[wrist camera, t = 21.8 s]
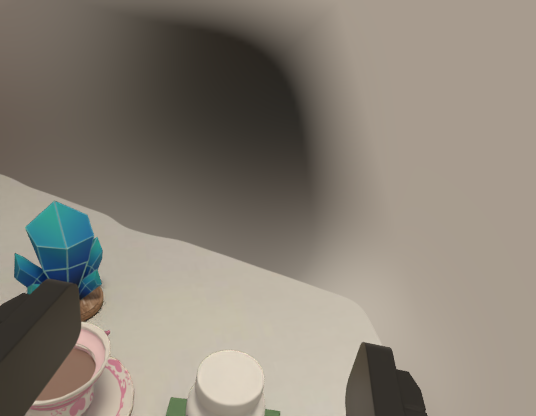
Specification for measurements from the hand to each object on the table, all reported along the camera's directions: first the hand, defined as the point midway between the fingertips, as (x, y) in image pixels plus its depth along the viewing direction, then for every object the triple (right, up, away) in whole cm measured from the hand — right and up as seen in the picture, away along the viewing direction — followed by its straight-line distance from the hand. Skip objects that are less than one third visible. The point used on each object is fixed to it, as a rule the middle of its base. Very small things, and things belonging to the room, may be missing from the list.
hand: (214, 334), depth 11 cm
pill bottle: (-3, -17, +21) cm, 27 cm away
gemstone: (-21, -8, +34) cm, 40 cm away
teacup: (-16, -14, +23) cm, 32 cm away
